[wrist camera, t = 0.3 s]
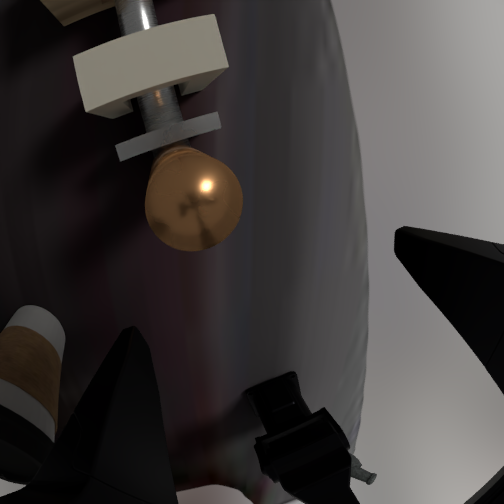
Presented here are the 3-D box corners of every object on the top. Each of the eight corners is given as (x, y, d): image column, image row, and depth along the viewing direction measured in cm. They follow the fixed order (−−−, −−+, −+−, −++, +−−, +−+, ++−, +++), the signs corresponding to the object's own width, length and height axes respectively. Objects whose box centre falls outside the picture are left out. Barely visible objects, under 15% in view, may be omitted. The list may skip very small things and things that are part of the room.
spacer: (202, 90, 19) (228, 67, 12) (113, 119, 18) (85, 112, 10) (193, 54, 17) (214, 14, 10) (103, 82, 16) (72, 56, 9)
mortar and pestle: (307, 468, 51) (329, 508, 40) (302, 456, 46) (327, 503, 36) (352, 445, 52) (377, 483, 42) (352, 430, 48) (382, 473, 38)
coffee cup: (-11, 308, 19) (-70, 426, 6) (46, 280, 20) (-16, 422, 7) (35, 369, 23) (11, 489, 10) (93, 350, 24) (82, 492, 11)
